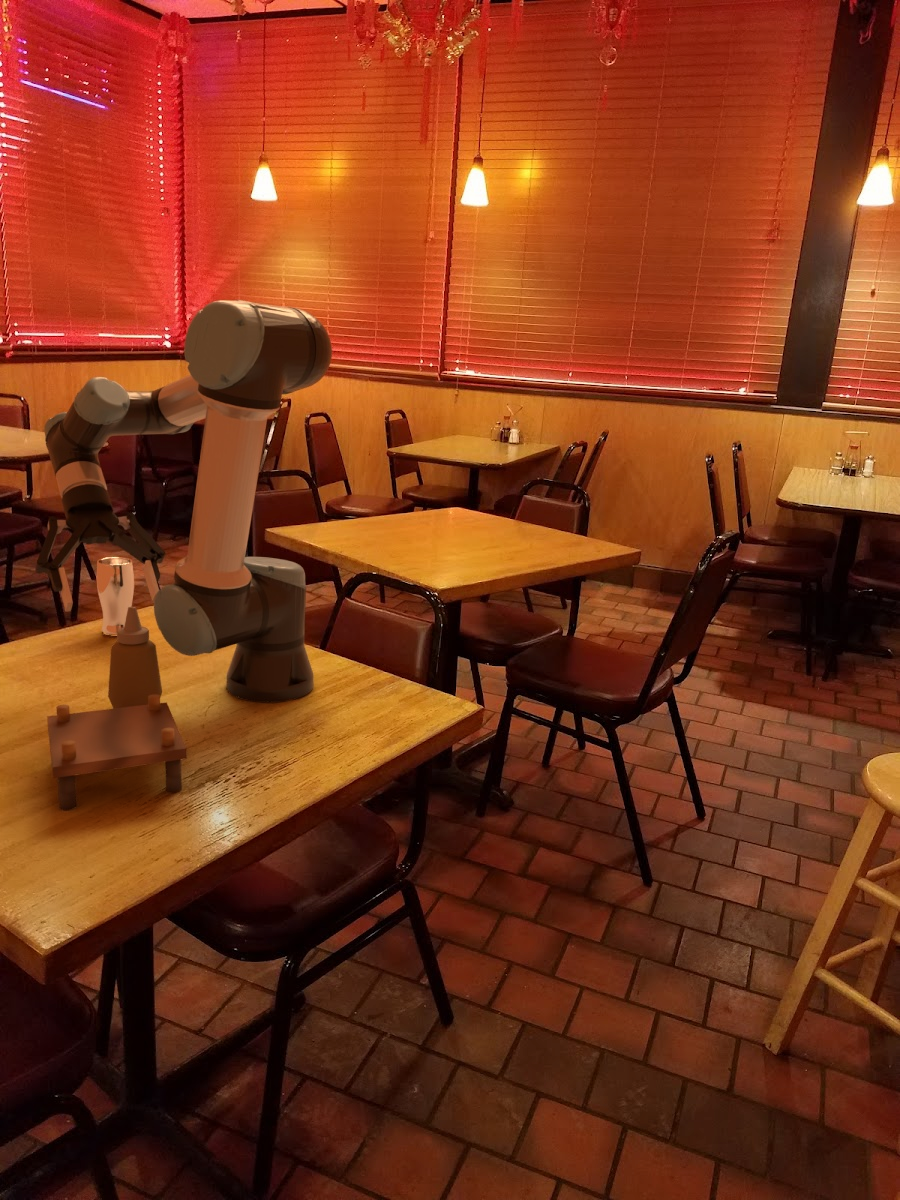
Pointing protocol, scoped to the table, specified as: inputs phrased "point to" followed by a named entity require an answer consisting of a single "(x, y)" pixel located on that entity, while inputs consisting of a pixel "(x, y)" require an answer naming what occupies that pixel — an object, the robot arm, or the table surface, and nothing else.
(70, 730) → the walnut stand
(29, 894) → the table surface
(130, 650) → the squeeze bottle
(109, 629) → the beer glass
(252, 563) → the robot arm
